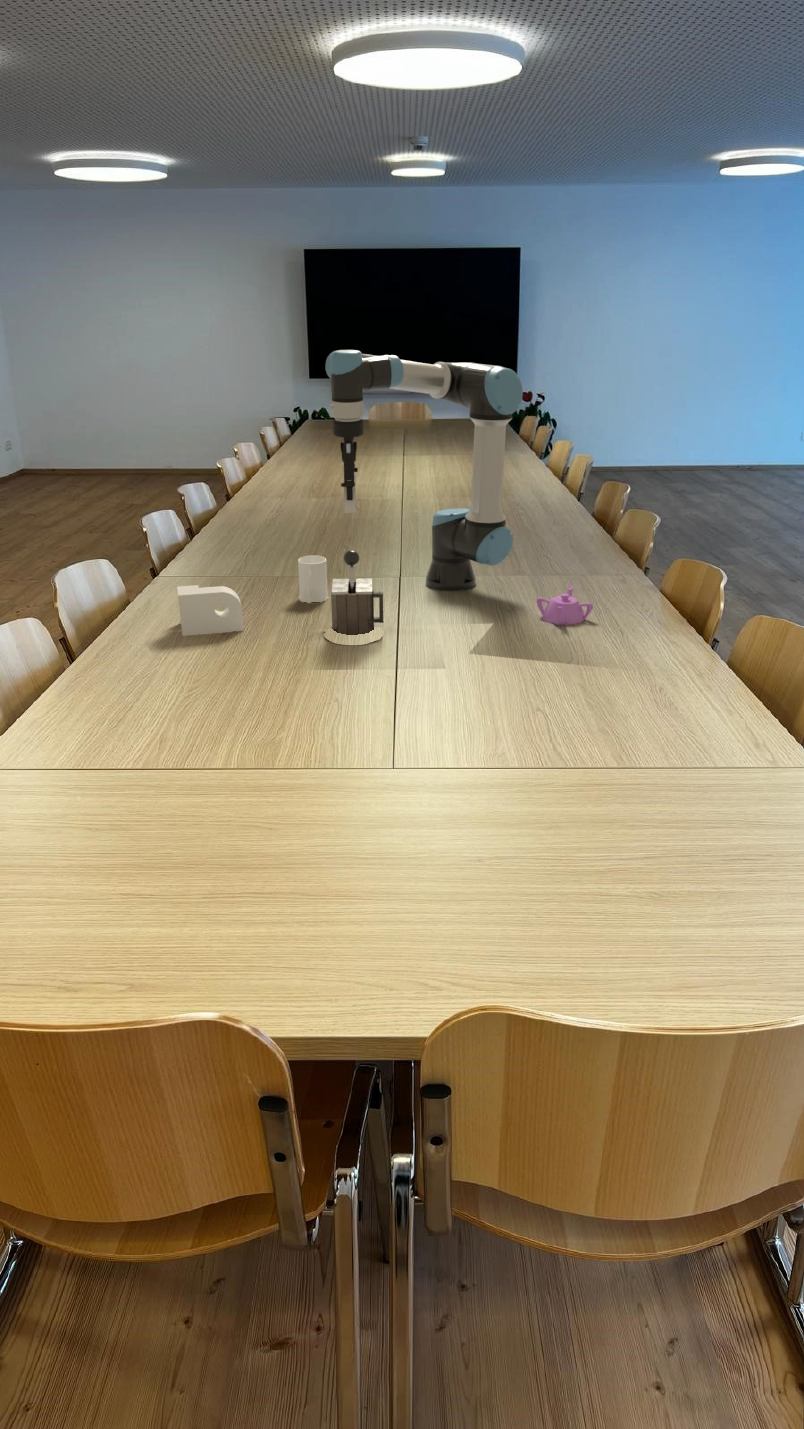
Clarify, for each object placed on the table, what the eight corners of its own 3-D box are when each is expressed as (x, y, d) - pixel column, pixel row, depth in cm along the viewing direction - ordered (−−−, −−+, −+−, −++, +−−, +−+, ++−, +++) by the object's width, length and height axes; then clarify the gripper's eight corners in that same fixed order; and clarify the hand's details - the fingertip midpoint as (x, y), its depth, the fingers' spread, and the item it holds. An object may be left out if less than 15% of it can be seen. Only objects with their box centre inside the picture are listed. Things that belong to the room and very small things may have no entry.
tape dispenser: (183, 640, 256) (177, 595, 251) (181, 626, 265) (176, 582, 260) (244, 635, 260) (240, 590, 254) (240, 621, 269) (237, 578, 263)
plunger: (366, 621, 262) (365, 546, 253) (366, 631, 256) (365, 554, 246) (340, 621, 262) (337, 546, 252) (339, 631, 255) (336, 554, 246)
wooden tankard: (383, 624, 265) (382, 577, 259) (383, 640, 254) (383, 592, 249) (332, 624, 264) (330, 578, 259) (330, 640, 254) (329, 592, 248)
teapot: (569, 614, 273) (571, 584, 269) (595, 631, 262) (598, 600, 258) (531, 619, 269) (533, 589, 265) (556, 637, 258) (559, 606, 254)
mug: (323, 608, 277) (321, 568, 272) (293, 607, 278) (291, 567, 273) (331, 594, 288) (329, 555, 282) (302, 593, 289) (300, 554, 283)
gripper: (333, 409, 247) (336, 493, 256) (330, 428, 224) (334, 519, 234) (363, 409, 247) (365, 492, 256) (363, 428, 225) (365, 518, 234)
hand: (350, 505), depth 245 cm, fingers open, 13 cm apart
